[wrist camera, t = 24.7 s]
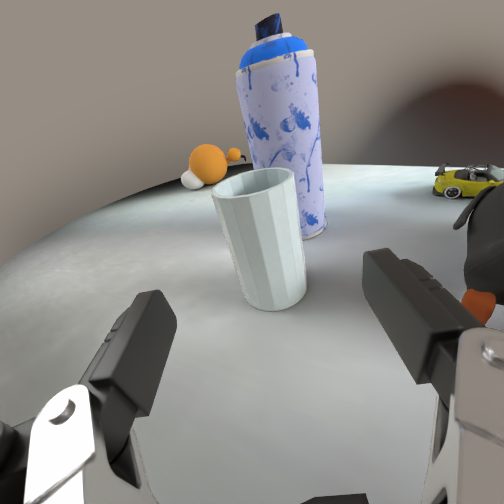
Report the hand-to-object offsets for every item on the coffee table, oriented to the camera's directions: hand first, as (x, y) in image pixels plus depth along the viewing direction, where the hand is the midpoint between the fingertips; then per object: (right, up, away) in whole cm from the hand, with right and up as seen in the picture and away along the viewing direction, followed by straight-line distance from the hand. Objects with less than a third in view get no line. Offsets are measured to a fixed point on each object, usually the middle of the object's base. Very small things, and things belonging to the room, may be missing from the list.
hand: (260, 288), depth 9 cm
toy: (-9, +18, +48) cm, 52 cm away
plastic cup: (+2, -2, +12) cm, 13 cm away
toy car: (+27, +8, +18) cm, 33 cm away
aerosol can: (+5, +5, +21) cm, 23 cm away
